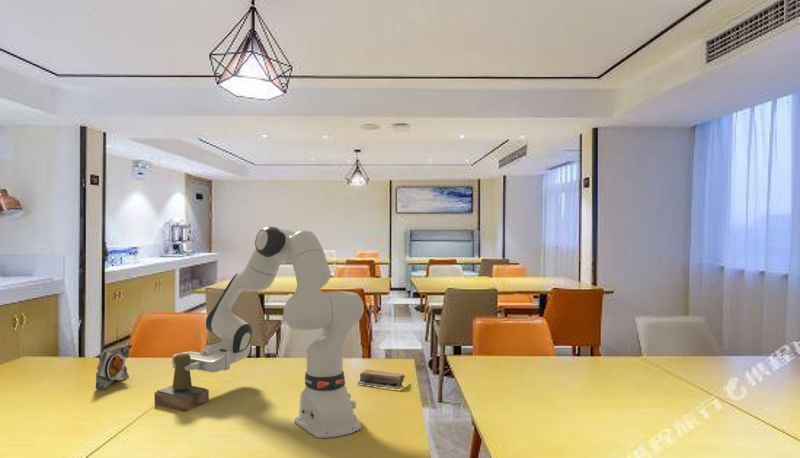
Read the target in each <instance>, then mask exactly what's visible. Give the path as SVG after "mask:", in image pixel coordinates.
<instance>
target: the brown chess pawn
mask: <svg viewBox="0 0 800 458" xmlns="http://www.w3.org/2000/svg"><path fill="white" fill-rule="evenodd" d="M181 353H182V354H179V353H177V354H178V355H176V356H175V357H174V363H175V369H174V372H173V373H174V374H173V379H172V386H173V387H172V388H173V389H175V390H182V389H187V388H190V387H191V386H193V384H192V378H191V370H189V371H185V370H184V365H187V364H189V362H190V359H191V358H190V355H189V354H185V353H183V352H181Z"/></svg>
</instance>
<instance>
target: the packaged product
mask: <svg viewBox="0 0 800 458" xmlns="http://www.w3.org/2000/svg"><path fill="white" fill-rule="evenodd" d="M405 377H406V376H405V375H404V374H401V373H400V374H399V373H393V372H387V371H380V370H375V369H366V370H364V371H362V372H361V373H360V374H359V381H357V383H358V384H363V385H370V386H377V387H387V388H394V389H401V388H403V387H404V386H402V382H403V381H405V380H404V379H405ZM358 384H357V385H358Z"/></svg>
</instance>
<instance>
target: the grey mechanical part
mask: <svg viewBox="0 0 800 458" xmlns="http://www.w3.org/2000/svg"><path fill="white" fill-rule="evenodd" d="M132 347H133V345H132V344H128V345H124V346H119V347H114V348H112V349H108V350H103V351H102V353H100V354H99V355H98V356H97V357H98V360H99V361H98V365H97V366H96V370H97V372H96V373H95V390H97V391H106V388H108V386H109V385H110V384H112V383H113V382H116V381H117V382H118V381H119V382H120V381H121V379H123V380H124V379H127V378H129V379H130V375H129V374H128V367H127V366H126V365H125V364H126V361H127V359H128V357H129V355H130V349H131V348H132Z"/></svg>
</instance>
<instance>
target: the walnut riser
mask: <svg viewBox="0 0 800 458" xmlns="http://www.w3.org/2000/svg"><path fill="white" fill-rule="evenodd" d="M172 387H173V385H170V386H167V387H164V388H161V389H158V390H156V391H155V392H154V406H155V405H156V406H160V407H162V408H168V409H172V410H177V411H181V412H188V411H189V410H191V409H194V408H196V407H199V406H202V405H204V404H206V403H209V401H210V400H209V397H210V396H209V395H210V391H209V389H207V388H205V387H200V386H195V385H192V386H191V387H190V388H187V389H182V390H175V389H173V388H172Z"/></svg>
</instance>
